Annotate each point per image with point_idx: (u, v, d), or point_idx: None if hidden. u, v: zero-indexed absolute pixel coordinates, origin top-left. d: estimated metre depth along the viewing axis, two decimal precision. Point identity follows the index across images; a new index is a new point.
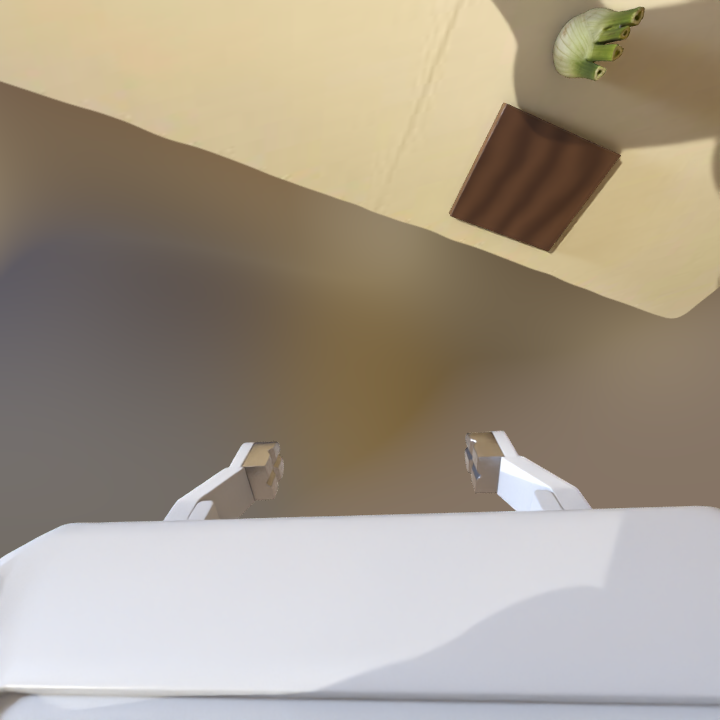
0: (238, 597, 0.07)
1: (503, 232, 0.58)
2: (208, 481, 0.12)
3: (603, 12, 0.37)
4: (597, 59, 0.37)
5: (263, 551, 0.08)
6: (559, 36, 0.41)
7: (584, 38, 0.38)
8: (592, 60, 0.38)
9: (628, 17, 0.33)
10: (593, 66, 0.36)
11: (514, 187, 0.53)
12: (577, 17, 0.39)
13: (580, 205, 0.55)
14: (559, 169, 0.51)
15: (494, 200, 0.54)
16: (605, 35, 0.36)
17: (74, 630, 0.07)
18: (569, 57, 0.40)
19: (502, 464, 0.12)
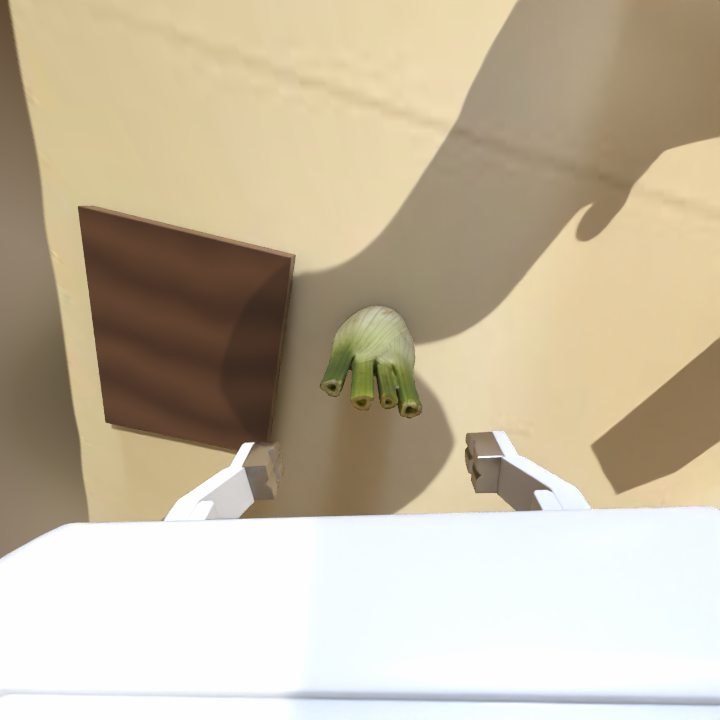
0: (238, 598, 0.07)
1: (98, 333, 0.29)
2: (208, 481, 0.12)
3: (410, 355, 0.24)
4: (353, 374, 0.20)
5: (263, 551, 0.08)
6: (382, 307, 0.26)
7: (380, 341, 0.23)
8: (353, 366, 0.21)
9: (408, 396, 0.18)
10: (341, 372, 0.19)
11: (177, 323, 0.28)
12: (403, 323, 0.26)
13: (188, 437, 0.33)
14: (224, 384, 0.30)
15: (143, 292, 0.27)
16: (384, 370, 0.21)
17: (75, 630, 0.07)
18: (357, 330, 0.23)
19: (502, 464, 0.12)
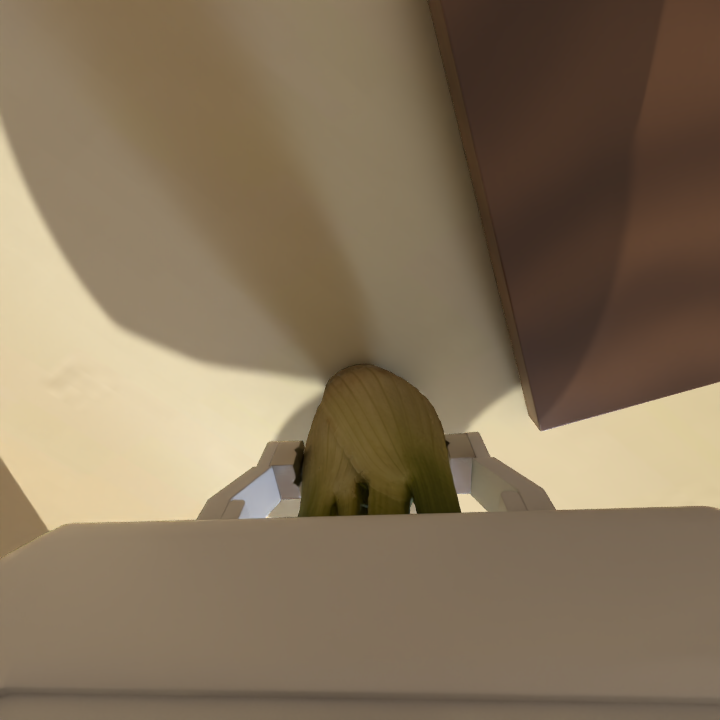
0: (238, 598, 0.07)
1: None
2: (237, 480, 0.12)
3: None
4: None
5: (263, 551, 0.08)
6: None
7: None
8: (409, 509, 0.11)
9: None
10: None
11: None
12: None
13: None
14: (606, 126, 0.12)
15: None
16: None
17: (74, 630, 0.07)
18: None
19: (474, 465, 0.12)
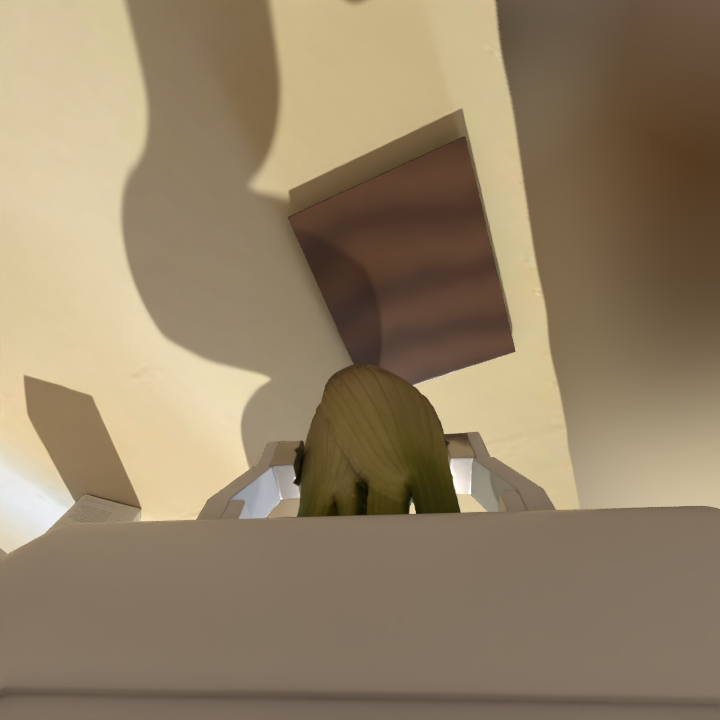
0: (238, 598, 0.07)
1: (488, 256, 0.30)
2: (237, 480, 0.12)
3: None
4: None
5: (263, 551, 0.08)
6: None
7: None
8: (408, 508, 0.11)
9: None
10: None
11: (424, 309, 0.32)
12: None
13: (370, 184, 0.28)
14: (365, 277, 0.31)
15: (457, 318, 0.32)
16: None
17: (75, 630, 0.07)
18: None
19: (474, 465, 0.12)
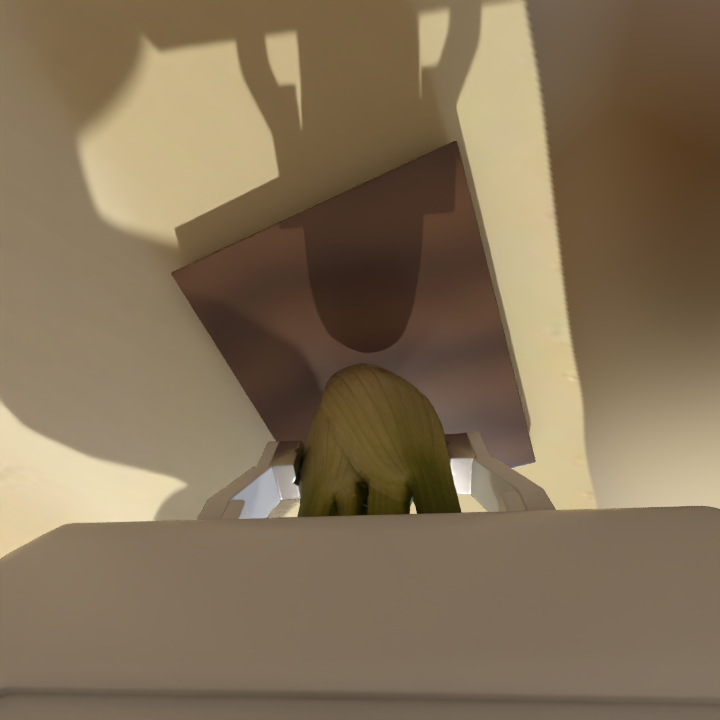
0: (238, 597, 0.07)
1: (496, 332, 0.19)
2: (237, 480, 0.12)
3: None
4: None
5: (263, 551, 0.08)
6: None
7: None
8: (409, 508, 0.11)
9: None
10: None
11: None
12: None
13: (298, 222, 0.17)
14: (303, 361, 0.20)
15: (448, 418, 0.21)
16: None
17: (75, 630, 0.07)
18: None
19: (474, 465, 0.12)
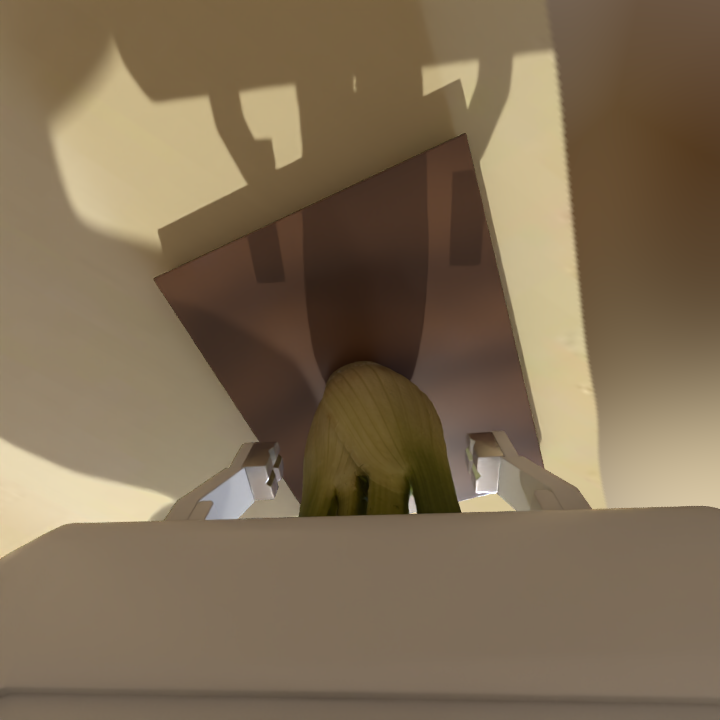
0: (238, 598, 0.07)
1: (506, 343, 0.17)
2: (208, 481, 0.12)
3: None
4: None
5: (263, 551, 0.08)
6: None
7: None
8: (408, 501, 0.11)
9: None
10: None
11: None
12: None
13: (291, 223, 0.15)
14: (297, 373, 0.19)
15: (453, 433, 0.20)
16: None
17: (75, 630, 0.07)
18: None
19: (502, 464, 0.12)
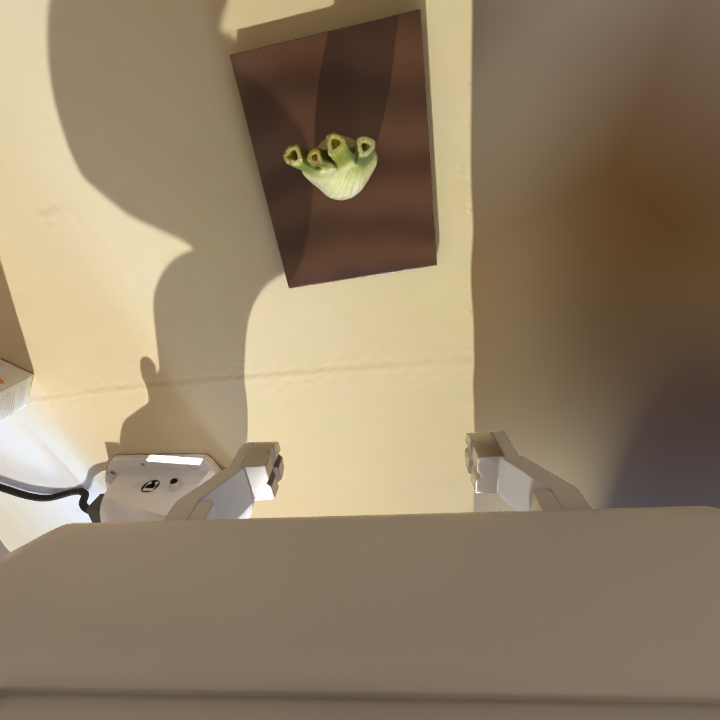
0: (238, 598, 0.07)
1: (425, 153, 0.30)
2: (208, 481, 0.12)
3: (308, 177, 0.27)
4: (350, 153, 0.23)
5: (263, 551, 0.08)
6: (347, 198, 0.30)
7: (338, 180, 0.26)
8: (352, 154, 0.23)
9: (300, 167, 0.21)
10: (362, 159, 0.21)
11: (355, 198, 0.32)
12: (324, 193, 0.30)
13: (319, 39, 0.27)
14: None
15: (386, 215, 0.33)
16: (326, 167, 0.23)
17: (75, 630, 0.07)
18: (360, 178, 0.27)
19: (502, 464, 0.12)
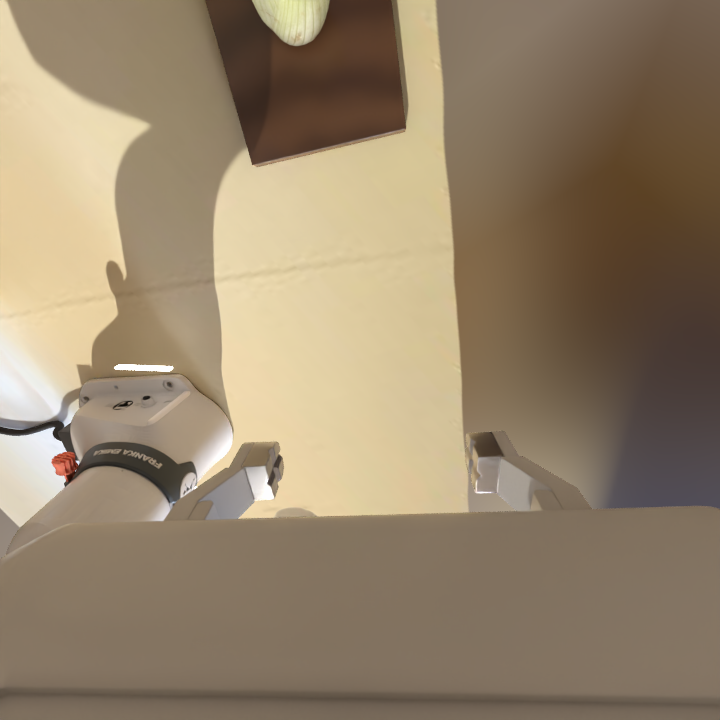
0: (238, 598, 0.07)
1: None
2: (208, 481, 0.12)
3: None
4: None
5: (263, 551, 0.08)
6: (304, 41, 0.28)
7: None
8: None
9: None
10: None
11: (315, 50, 0.30)
12: (279, 34, 0.28)
13: None
14: None
15: (349, 69, 0.31)
16: None
17: (75, 630, 0.07)
18: None
19: (502, 464, 0.12)
